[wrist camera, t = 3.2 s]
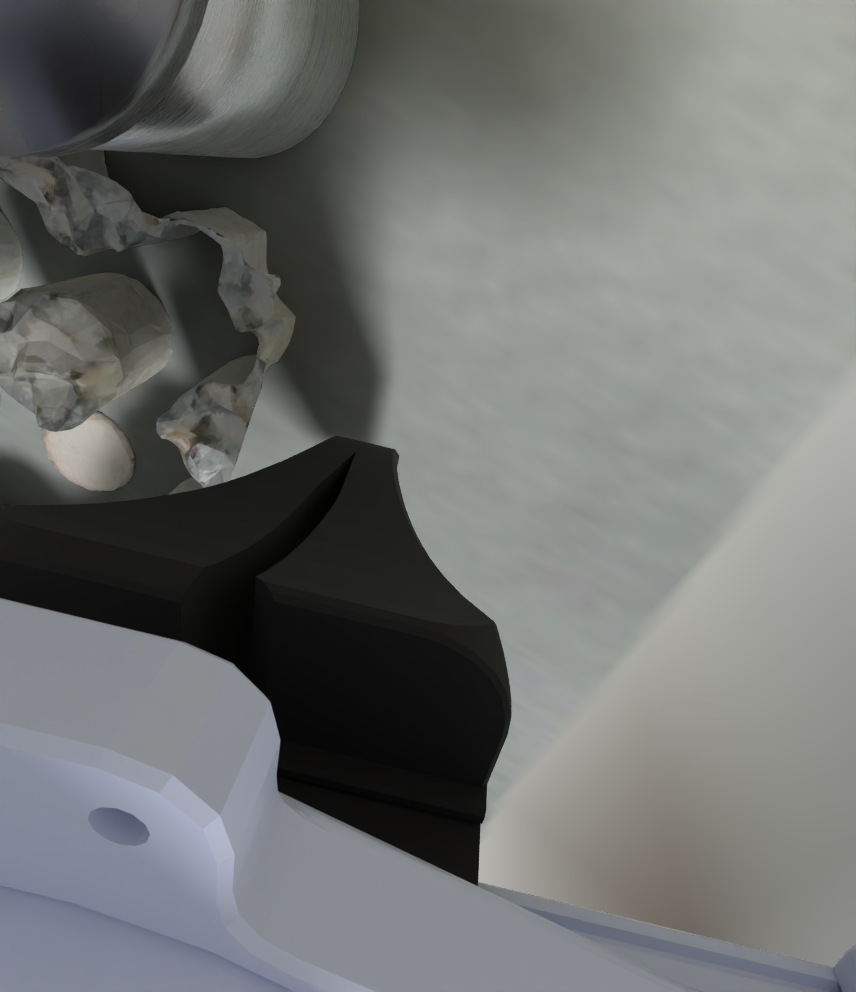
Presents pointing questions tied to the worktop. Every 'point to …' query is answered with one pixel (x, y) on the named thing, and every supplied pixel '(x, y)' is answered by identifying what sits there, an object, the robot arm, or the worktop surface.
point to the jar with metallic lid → (170, 74)
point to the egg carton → (126, 327)
